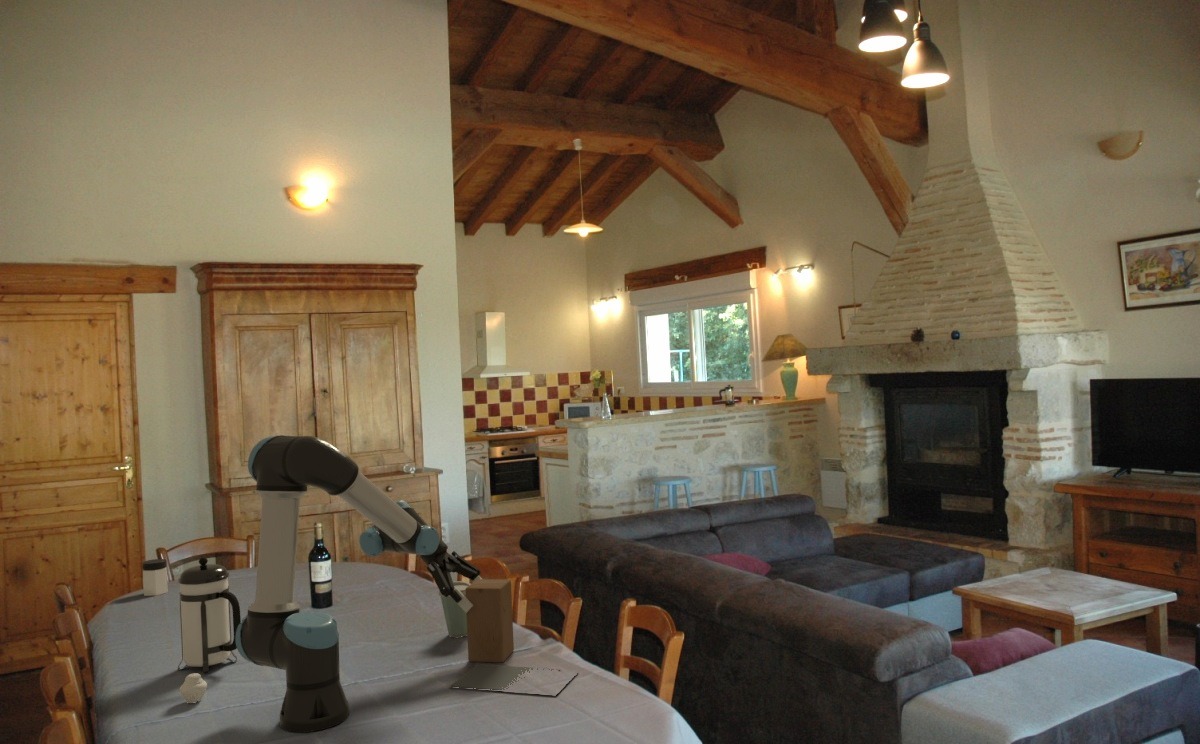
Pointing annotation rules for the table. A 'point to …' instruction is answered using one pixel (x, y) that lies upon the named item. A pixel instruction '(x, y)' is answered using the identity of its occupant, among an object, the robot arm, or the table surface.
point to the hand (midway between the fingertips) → (480, 602)
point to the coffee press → (207, 615)
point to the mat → (490, 677)
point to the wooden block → (489, 620)
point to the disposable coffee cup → (455, 612)
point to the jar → (154, 577)
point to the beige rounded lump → (193, 688)
